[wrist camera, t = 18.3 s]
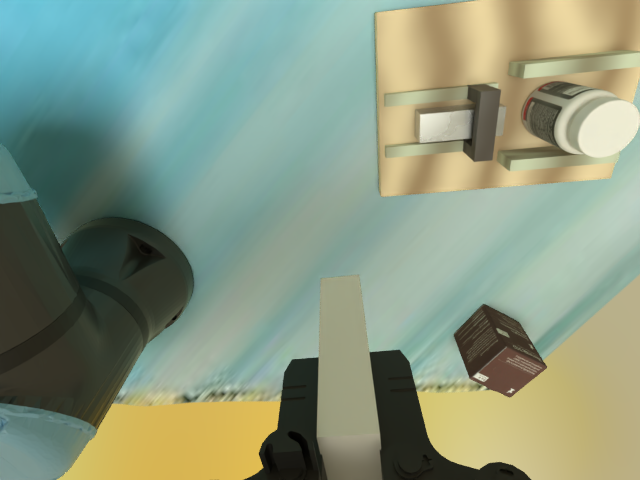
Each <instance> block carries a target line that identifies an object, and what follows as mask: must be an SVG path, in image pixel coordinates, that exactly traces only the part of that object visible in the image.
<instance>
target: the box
mask: <svg viewBox="0 0 640 480" xmlns="http://www.w3.org/2000/svg"><path fill="white" fill-rule="evenodd" d="M454 337H455V340H456V343H457V345H458V348H459V351H460V354H461V356H462V359H463V361H464V364H465V367H466V370H467V372H468V375H469V378H470V379H471V380H473V381H475V382H477V383H480V384H482V385H484V386H486V387H487V388H489V389H491V390H493V391H497V392H499V393H501V394H503V395H505V396H508V397H512V396H513V395H514V394H515V393H516V392H518V391H519V390H520V389H521V388H522V387H524V386H525V385H526V384H527V383H529V382H530V381H531V380H532V379H534V378H535V377H536V376H538V375H539V374H540V373H541V372H542V371H544V370H545V369H546V368H547V366H546V365H545V363H544V362H543V360H542V358H541V357H540V355H539V353H538V352H537V350H536V349H535V347H534V345H533V344H532V342H531V341H530V339H529V337H528V336H527V334H526V332H525V331H524V329H523V328H522V326H521V324H520V323H519V322H517V321H515V320H513V319H512V318H510V317H508V316H506V315H504V314H502V313H500V312H499V311H497V310H495V309H493V308H490V307H489V306H487V305H482V306H481V307H480V308H479V309H478V310H477V311H476V312H475V313H474V315H472V317H471V318H470V319H469V320H468V321H467V322H466V323H465V324H464V325H463V326H461V328H460V329H458V330H457V331H456V332H455V334H454Z"/></svg>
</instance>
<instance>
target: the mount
mask: <svg viewBox="0 0 640 480" xmlns="http://www.w3.org/2000/svg"><path fill="white" fill-rule="evenodd" d="M374 15H375V52H376V90H377V127H378V164H379V192H380V195H381V197H386V196H398V195H410V194H423V193H435V192H447V191H460V190H472V189H484V188H497V187H509V186H521V185H533V184H546V183H558V182H570V181H583V180H595V179H607V178H611V176H612V172H613V169H614V165H615V163H617V162H618V158H619V155H620V151H619V152H617V153H615V154H613V155H611V156H607V157H603V158H594V157H590V156H587V155H585V154H572V153H569V152H566V151H564V150H562V149H560V148H558V147H556V146H554V145H552V144H550V143H548V142H546V141H544V140H542V139H540V138H538V137H536V136H534V135H532V134H531V133H529V132H528V131H527V130H526V128H525V126H524V124H523V121H522V111H523V108H524V105H525V103H526V101H527V99H528V98H529V96H530V95H531V94H532V93H533V92H534V91H535V90H536V89H538V88H539V87H541V86H542V85H544V84H547V83H549V82H554V81H562V82H568V83H573V84H577V85H582V86H587V87H591V88H597V89H602V90H606V91H609V92H611V93H613V94H614V95H616V96H617V97H618V98H620V99H622V100H626V101H629V102H630V103H632V102H633V99H634V95H635V92H636V89H637V85H638V82H639V78H640V0H477V1H469V2H460V3H452V4H443V5H435V6H427V7H418V8H410V9H401V10H393V11H385V12H376V13H374ZM475 103H476V105H475V115H474V126H473V137H472V138H470V139H459V140H448V141H437V142H426V143H419V142H418V140H417V139H416V138H415V136H414V135H415V109H424V108H434V107H445V106H455V105H465V104H475ZM499 103H500V104H502V105H505V106H506V114H505V121H504V129H503V136H496V128H497V120H498V111H499Z"/></svg>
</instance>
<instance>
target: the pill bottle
mask: <svg viewBox="0 0 640 480" xmlns="http://www.w3.org/2000/svg"><path fill="white" fill-rule="evenodd" d="M522 121H523V124H524V126H525V128H526V130H527V131H528V132H529V133H531V134H532V135H534V136H536V137H538V138H540V139H542V140H544V141H546V142H548V143H550V144H552V145H554V146H556V147H558V148H560V149H562V150H564V151H566V152H569V153H572V154H585V155H587V156H590V157H594V158H603V157H607V156H611V155H613V154H615V153H617V152H619V151H620V150H622V149H623V148H624V147H626V146H627V145H628V144H629V143H630V142H631V140H632V139H633V138H634V136H635V134H636V133H637V130H638V127H639V124H640V115H639V112H638V110H637V108H636V106H635V105H633V104H632V103H630V102H629V101H626V100H622V99H620V98H618V97H617V96H616V95H614V94H613V93H611V92H609V91H606V90H602V89H597V88H591V87H587V86H582V85H577V84H573V83H568V82H562V81H554V82H549V83H547V84H544V85H542V86H541V87H539V88H538V89H536V90H535V91H534V92H533V93H532V94H531V95H530V96H529V98H528V99H527V101H526V103H525V105H524V108H523V111H522Z"/></svg>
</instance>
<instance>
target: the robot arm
mask: <svg viewBox="0 0 640 480" xmlns="http://www.w3.org/2000/svg"><path fill="white" fill-rule="evenodd" d="M36 198H38V197H37V192H36V191H35V190H34V189H32V188H30V186H29V185H28V183H27V181H26V179H25V178H24V176H23V174H22V173H21V171H20V169H19V167H18V166H17V164H16V162H15V160H14V159H13V157H12V155H11V154H10V152H9V151H8V150H7V149H6V147H5V146H3V145H2V144H1V143H0V480H56V479H58V478H60V477H61V476H62V475H64V474H65V472H67V471H68V470H69V469H70V468H71V467H72V465H73V464H74V462H75V461H76V460H77V458H78V457H79V455H80V454H81V452H82V451H83V449H84V448H85V446H86V445H87V443H88V442H89V440H91V439H92V438H94V437H95V435H96V433H97V429H98V427H99V425H100V423H101V422H102V420H103V419H104V417H105V415H106V413H107V411H108V410H109V408H110V406H111V405H112V403H113V401H114V400H115V398H116V396H117V394H118V393H119V391H120V389H121V387H122V386H123V384H124V382H125V380H126V379H127V377H128V375H129V373H130V372H131V370H132V368H133V366H134V365H135V363H136V361H137V359H138V358H139V356H140V354H141V352H142V351H143V349H144V348H145V346H146V344H147V343H149V342H150V341H151V340H152V339H154V338H155V337H156V336H158V335H159V334H160V333H161V332H162V331H163V330H164V329H165V328H167V327H169V326H170V325H171V324H173V323H174V322H175V321H176V320H177V319H178V318H179V317H180V316H181V314H182V313H183V311H184V309H185V308H186V306H187V304H188V302H189V300H190V298H191V295H192V292H193V275H192V271H191V268H190V266H189V263H188V261H187V260H186V258H185V256H184V255H183V253H182V252H181V251H180V249H179V248H178V247H177V246H176V245H175V244H174V243H173V242H172V241H171V240H170V239H169V238H167V237H166V236H165V235H163V234H162V233H160V232H159V231H157V230H155V229H154V228H152V227H150V226H148V225H145V224H143V223H140V222H137V221H133V220H129V219H124V218H102V219H97V220H94V221H91V222H88V223H86V224H85V225H83V226H81V227H80V228H79V229H77V230H76V231H75V232H74V233H72V234H71V235H70V236H68V237H67V238H66V239H65V241H64V242H63V243H62V244H61V245H59V243H58V241H57V239H56V237H55V235H54V233H53V231H52V229H51V227H50V225H49V223H48V221H47V219H46V217H45V215H44V213H43V211H42V209H41V208H40V206H39V204H38V202H37V200H36ZM259 456H260V459H261V462H262V465H263V467H264V468H263V469H262V470H260V471H259V472H258V473H257V474H255V475H253V476H251V477H249V478H247V479H244V480H531V479H530V478H529V477H528V476H527V475H526V474H525V473H524V472H523V471H521V470H519V469H517V468H516V467H515V466H513V465H509V464H506V463H502V462H496V463H489V464H487V465H485V466H484V467H482V468H481V469H480V470H478V469H474V468H471V467H467V466H463V465H459V464H457V463H454V462H451V461H449V460H447V459H446V458H444V457H443V456H441V455H440V454H439V453H438V452H437V451H436V450H435V449H434V447H433V446H432V444H431V443H430V441H429V438H428V435H427V432H426V428H425V424H424V420H423V416H422V412H421V408H420V404H419V400H418V396H417V392H416V387H415V383H414V379H413V375H412V371H411V367H410V363H409V361H408V360H407V358H406V357H405V356H404V355H403V354H402V352H401V351H400V350H392V351H379V352H369V346H368V339H367V331H366V323H365V316H364V308H363V301H362V293H361V285H360V278H359V275H351V276H341V277H331V278H321V289H320V328H319V357H318V358H305V359H293V360H292V361H291V362H290V364H289V366H288V367H287V369H286V371H285V372H284V380H283V390H282V396H281V404H280V412H279V421H278V428H277V430H276V431H275V432H273V433H271V434H270V435H269V436H268V437H267V438H266V439H265V441H264V442H263V443H262V446H261V449H260V452H259Z"/></svg>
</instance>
